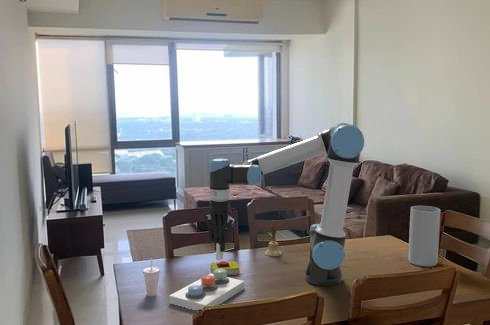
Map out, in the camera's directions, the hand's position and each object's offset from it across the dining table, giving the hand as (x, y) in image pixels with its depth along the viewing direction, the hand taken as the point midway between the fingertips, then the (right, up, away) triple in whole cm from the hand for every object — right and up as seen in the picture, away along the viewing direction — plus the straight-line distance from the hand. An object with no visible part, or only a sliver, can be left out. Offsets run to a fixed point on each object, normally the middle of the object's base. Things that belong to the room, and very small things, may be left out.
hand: (219, 259), depth 184 cm
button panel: (-4, -13, -5) cm, 14 cm away
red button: (-4, -8, -6) cm, 11 cm away
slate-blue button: (-8, -10, -13) cm, 18 cm away
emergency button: (+2, -10, +21) cm, 23 cm away
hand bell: (+24, -7, +44) cm, 51 cm away
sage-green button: (0, -7, +1) cm, 7 cm away
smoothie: (-25, -13, -4) cm, 29 cm away
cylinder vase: (+91, -8, +32) cm, 97 cm away
